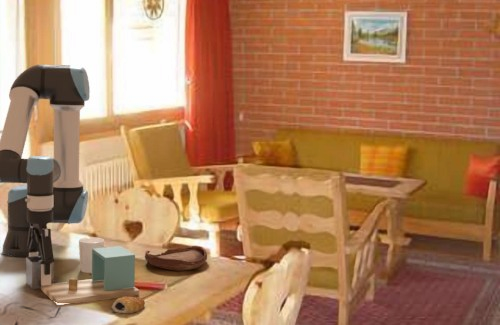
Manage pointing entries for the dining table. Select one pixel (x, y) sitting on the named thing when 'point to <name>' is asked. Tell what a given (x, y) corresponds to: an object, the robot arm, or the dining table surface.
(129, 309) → the pastry
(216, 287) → the dining table surface
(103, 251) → the housing cover
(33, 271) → the block
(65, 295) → the pin board
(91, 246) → the white cup
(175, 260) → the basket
